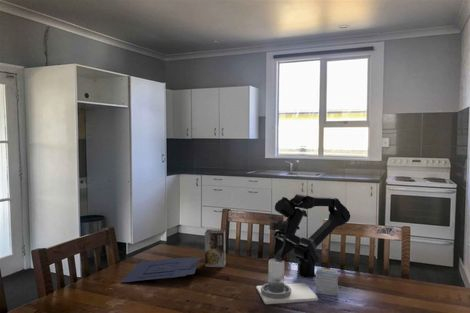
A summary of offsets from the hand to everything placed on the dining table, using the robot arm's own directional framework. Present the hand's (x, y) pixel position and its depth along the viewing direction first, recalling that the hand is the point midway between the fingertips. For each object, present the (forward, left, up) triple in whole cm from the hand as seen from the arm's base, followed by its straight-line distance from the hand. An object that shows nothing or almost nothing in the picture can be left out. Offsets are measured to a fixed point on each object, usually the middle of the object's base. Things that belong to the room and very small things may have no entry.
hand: (277, 256), depth 150 cm
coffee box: (+23, -24, -11) cm, 35 cm away
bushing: (+4, +12, -10) cm, 16 cm away
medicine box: (-16, +13, -11) cm, 23 cm away
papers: (+46, -17, -11) cm, 51 cm away
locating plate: (0, +12, -11) cm, 16 cm away
